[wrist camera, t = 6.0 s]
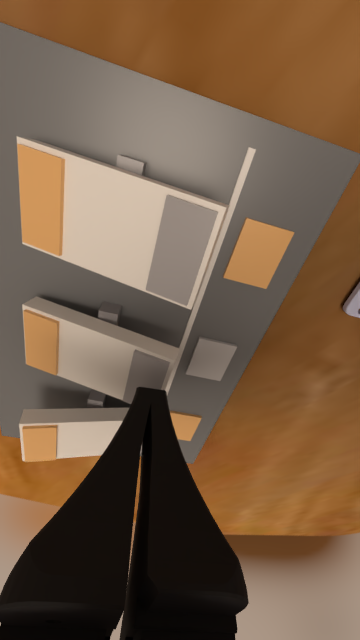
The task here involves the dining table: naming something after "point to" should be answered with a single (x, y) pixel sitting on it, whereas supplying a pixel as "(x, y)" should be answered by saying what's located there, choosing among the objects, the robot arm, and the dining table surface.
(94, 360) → the rocker
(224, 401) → the switch unit
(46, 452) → the rocker
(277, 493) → the dining table surface
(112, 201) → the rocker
